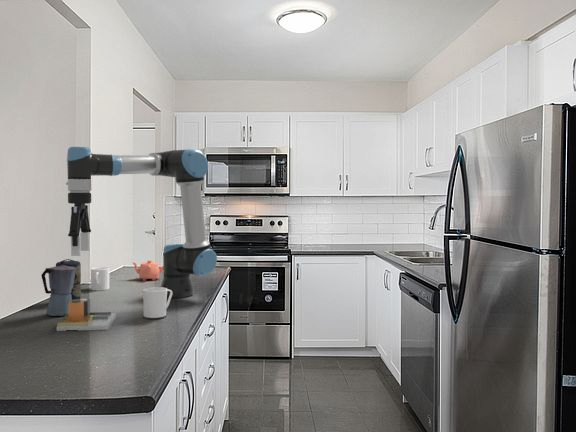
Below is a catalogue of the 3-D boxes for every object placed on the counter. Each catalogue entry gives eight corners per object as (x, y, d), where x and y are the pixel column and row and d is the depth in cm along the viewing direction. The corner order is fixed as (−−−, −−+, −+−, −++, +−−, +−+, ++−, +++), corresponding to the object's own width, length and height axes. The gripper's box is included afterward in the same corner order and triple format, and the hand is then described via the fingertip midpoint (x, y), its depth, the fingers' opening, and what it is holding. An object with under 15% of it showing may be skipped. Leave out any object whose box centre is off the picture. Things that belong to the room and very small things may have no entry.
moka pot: (84, 311, 195) (84, 259, 194) (54, 320, 180) (53, 264, 180) (64, 309, 198) (64, 258, 197) (33, 318, 184) (32, 263, 183)
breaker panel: (115, 317, 187) (115, 310, 187) (107, 329, 170) (107, 321, 170) (69, 318, 184) (69, 310, 184) (56, 331, 167) (56, 322, 167)
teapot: (152, 276, 277) (153, 258, 276) (167, 279, 270) (167, 260, 269) (130, 280, 265) (130, 260, 265) (145, 282, 258) (145, 263, 258)
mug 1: (86, 292, 231) (86, 271, 230) (93, 287, 243) (93, 267, 242) (104, 292, 232) (104, 271, 231) (110, 287, 244) (110, 267, 243)
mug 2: (145, 320, 183) (145, 292, 183) (140, 315, 191) (140, 288, 190) (175, 317, 188) (175, 290, 188) (169, 312, 196) (169, 286, 195)
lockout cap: (85, 320, 176) (85, 298, 176) (81, 323, 171) (82, 301, 171) (70, 320, 175) (70, 298, 175) (66, 324, 170) (66, 301, 170)
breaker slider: (90, 314, 183) (90, 298, 183) (87, 316, 179) (87, 300, 179) (78, 314, 183) (78, 298, 182) (75, 317, 179) (75, 300, 179)
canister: (71, 305, 204) (71, 261, 203) (50, 304, 206) (50, 260, 205) (85, 301, 213) (85, 258, 212) (65, 299, 215) (65, 257, 214)
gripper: (76, 191, 187) (77, 248, 188) (58, 192, 163) (59, 258, 164) (98, 191, 188) (98, 248, 190) (83, 192, 164) (83, 257, 165)
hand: (80, 253), depth 177 cm, fingers open, 13 cm apart
